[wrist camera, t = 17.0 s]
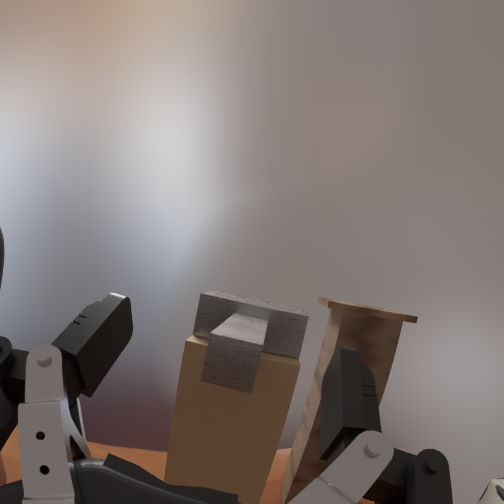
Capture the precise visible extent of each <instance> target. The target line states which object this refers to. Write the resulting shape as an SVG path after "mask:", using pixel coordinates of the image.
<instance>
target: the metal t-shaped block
mask: <svg viewBox="0 0 504 504" xmlns="http://www.w3.org/2000/svg"><path fill="white" fill-rule="evenodd" d="M308 317H309V316H308V315H307V314H306V313H305V311H304V310H302V309H297V308H291V307H286V306H282V305H276V304H272V303H267V302H262V301H258V300H253V299H248V298H244V297H239V296H235V295H230V294H226V293H221V292H217V291H210V292H204V293H201V295H200V300H199V305H198V310H197V315H196V320H195V325H194V330H193V335H196V336H200V337H204V338H208V339H209V342H208V347H207V352H206V357H205V362H204V367H203V373H202V378H201V381H203V382H206V383H210V384H214V385H218V386H222V387H226V388H230V389H234V390H239V391H243V392H248V393H252V390H253V386H254V382H255V378H256V373H257V369H258V365H259V361H260V356H261V352H262V351H264V352H269V353H274V354H279V355H284V356H289V357H294V358H299V356H300V352H301V348H302V343H303V339H304V335H305V331H306V326H307V322H308Z"/></svg>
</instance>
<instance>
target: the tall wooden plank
mask: <svg viewBox="0 0 504 504" xmlns="http://www.w3.org/2000/svg"><path fill="white" fill-rule="evenodd" d="M318 303H320V304H322V305H324V306H325V307H327V308H330V312H329V317H328V321H327V325H326V330H325V334H324V338H323V342H322V347H321V350H320V355H319V358H318V362H317V366H316V370H315V374H314V377H313V381H312V385H311V388H310V392H309V395H308V399H307V402H306V406H305V409H304V412H303V416H302V419H301V422H300V426H299V429H298V432H297V435H296V438H295V441H294V444H293V447H292V450H291V453H290V456H289V459H288V462H287V465H286V468H285V471H284V473H283V476H282V479H281V504H287V503H289V502H290V501H291V500H292V499H293V498H294V497H296V496H297V495H298V494H299V493H300V492H301V491H302V490H303V489H305V488H306V487H307V486H308V485H309V484H310V483H311V482H312V481H313V480H314V479H316V478H317V477H318V476H320V475H321V474H322V473H323V472H324V471H325V470H326V469H327V466H328V461H326V460H319V443H320V419H321V386H322V380H323V376H324V373H325V371H326V369H327V367H328V364H329V362H330V360H331V358H332V355H333V353H334V351H335V348H336V347H337V346H342V347H348V348H355V349H357V351H358V357H359V363H362V364H367V365H368V366H369V368H370V370H371V371H372V373H373V374H374V380H375V388H376V393H377V396H376V397H377V400H378V408H379V405H380V402H381V399H382V396H383V393H384V390H385V387H386V384H387V380H388V377H389V374H390V370H391V367H392V363H393V359H394V356H395V352H396V348H397V344H398V340H399V336H400V332H401V328H402V323H403V321H406V322H412V323H416V322H417V318H418V317H416V316H412V315H408V314H404V313H400V312H396V311H392V310H386V309H380V308H375V307H369V306H364V305H359V304H354V303H348V302H343V301H337V300H332V299H327V298H322V297H319V300H318Z"/></svg>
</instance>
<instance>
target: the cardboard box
mask: <svg viewBox="0 0 504 504" xmlns="http://www.w3.org/2000/svg"><path fill="white" fill-rule="evenodd" d="M208 342H209V339H208V338H204V337H200V336H196V335H193V336H191V337H190V338H188V339H187V340H186V342H185V347H184V352H183V358H182V364H181V370H180V375H179V381H178V388H177V394H176V400H175V406H174V412H173V419H172V426H171V433H170V440H169V448H168V454H167V462H166V469H165V478H164V482H165V483H167V484H171V485H180V486H194V487H207V488H210V489H214V490H219V491H223V492H227V493H232V494H237V495H239V497H238V502H240V503H242V504H259V501H260V498H261V496H262V493H263V490H264V487H265V484H266V481H267V478H268V475H269V472H270V469H271V466H272V463H273V460H274V457H275V454H276V450H277V447H278V444H279V441H280V438H281V434H282V430H283V427H284V424H285V421H286V417H287V414H288V410H289V407H290V403H291V400H292V396H293V392H294V389H295V385H296V381H297V377H298V373H299V370H300V363H299V359H298V358H294V357H289V356H284V355H279V354H274V353H269V352H264V351H262V352H261V356H260V361H259V365H258V369H257V373H256V378H255V382H254V386H253V390H252V393H248V392H243V391H239V390H234V389H230V388H226V387H222V386H218V385H214V384H210V383H206V382H203V381H201V378H202V373H203V367H204V362H205V357H206V352H207V347H208Z"/></svg>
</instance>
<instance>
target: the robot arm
mask: <svg viewBox="0 0 504 504" xmlns="http://www.w3.org/2000/svg"><path fill="white" fill-rule="evenodd" d="M3 265H4V239H3V234H2V231H1V228H0V288H1V281H2V274H3ZM132 332H133V322H132V313H131V302H130V299H129V298H128V297H126V296H123V295H119V294H116V293H109V294H108V295H107V296H106V297H105V298H104V299H103V300H102V301H101V302H100V301H96V302H94V303H93V304H91V305H89V306H87V307H86V308H85V309H84V310H83V311H82V312H81V313H80V314H79V316H77V317H76V318H75V319H74V320H73V322H72V323H70V325H69V326H68V327H67V328H66V329H65V330H64V331H63V332H62V333H61V334H60V335H59V336H58V337H57V338H56V339H55V341H54V342H53V343H52V344H51V345H48V344H46V345H40V346H37V347H35V348H34V349H32V350H31V351H30V352H28V351H22V350H17V349H13V347H12V344H11V342H10V341H9V339H7V338H5V337H2V336H0V504H242V503H240V502H238V497H239V495H237V494H232V493H227V492H223V491H219V490H214V489H210V488H207V487H194V486H180V485H171V484H167V483H165V482H163V481H162V480H160V479H158V478H157V477H155V476H154V475H152V474H150V473H149V472H147V471H146V470H144V469H143V468H141V467H140V466H138V465H136V464H133V463H131V462H128V461H126V460H124V459H121V458H119V457H117V456H114V455H112V454H110V453H109V454H108V456H107V458H106V460H105V459H97V458H92V456H91V453H90V450H89V448H88V445H87V442H86V438H85V433H84V427H83V421H82V415H81V408H80V402H79V399H78V397H79V395H80V394H83V395H86V396H87V397H91V396H92V395H93V393H94V392H95V390H96V389H97V387H98V386H99V384H100V383H101V381H102V380H103V378H104V377H105V376H106V374H107V373H108V371H109V370H110V368H111V367H112V365H113V364H114V362H115V361H116V360H117V358H118V357H119V355H120V354H121V352H122V351H123V350H124V348H125V347H126V345H127V344H128V342H129V341H130V339H131V336H132ZM376 396H377V393H376V388H375V380H374V374H373V373H372V371H371V370H370V368H369V366H368V365H367V364H362V363H359V357H358V351H357V349H355V348H348V347H342V346H337V347H336V348H335V351H334V353H333V355H332V358H331V360H330V362H329V364H328V367H327V369H326V371H325V373H324V376H323V380H322V386H321V419H320V443H319V460H326V461H328V466H327V469H326V470H325V471H324V472H323V473H322V474H321V475H320V476H318V477H317V478H316V479H314V480H313V481H312V482H311V483H310V484H309V485H308V486H307V487H306V488H305V489H303V490H302V491H301V492H300V493H299V494H298V495H297V496H296V497H294V498H293V499H292V500H291V501H290V502H289V503H287V504H357V503H358V501H359V500H360V499H361V498H364V499H367V500H370V501H374V502H375V504H453V501H452V490H451V481H450V472H449V465H448V461H447V459H446V457H445V456H444V455H443V454H442V453H441V452H439V451H437V450H434V449H425V450H423V451H421V452H420V453H419V454H418V455H413V454H410V453H407V452H404V451H401V450H398V449H395V448H394V447H393V445H392V442H391V441H390V439H389V438H388V437H387V436H385V435H384V434H382V431H381V424H380V416H379V408H378V400H377V397H376ZM17 424H18V434H19V452H20V463H21V473H22V480H19V481H15V482H12V483H9V484H5V485H3V484H4V482H5V479H6V472H5V468H4V464H3V460H2V455H1V450H2V448H3V446H4V445H5V443H6V441H7V440H8V438H9V436H10V435H11V433H12V432H13V430H14V428H15V427H16V425H17Z"/></svg>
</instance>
